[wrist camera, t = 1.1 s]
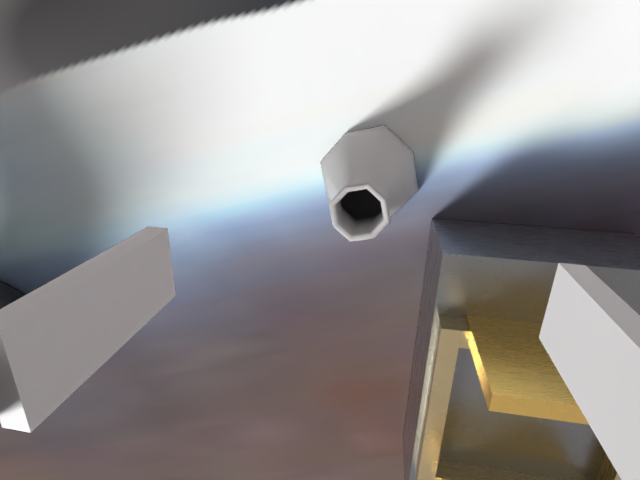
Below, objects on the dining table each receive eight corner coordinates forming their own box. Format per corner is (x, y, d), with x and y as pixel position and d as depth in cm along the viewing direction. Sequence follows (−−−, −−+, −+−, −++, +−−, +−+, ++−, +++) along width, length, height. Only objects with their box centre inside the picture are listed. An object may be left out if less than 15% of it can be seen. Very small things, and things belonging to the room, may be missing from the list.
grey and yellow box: (399, 459, 39) (403, 639, 26) (432, 218, 30) (461, 313, 18) (551, 483, 37) (635, 692, 24) (633, 233, 28) (835, 353, 15)
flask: (304, 156, 30) (267, 185, 21) (390, 106, 28) (390, 115, 19) (350, 235, 32) (333, 294, 23) (434, 194, 30) (453, 241, 21)
